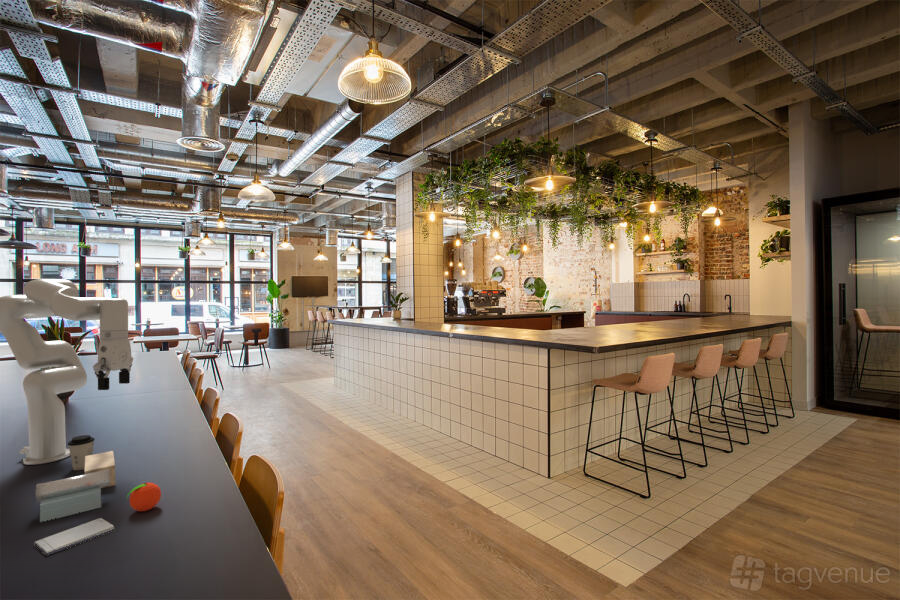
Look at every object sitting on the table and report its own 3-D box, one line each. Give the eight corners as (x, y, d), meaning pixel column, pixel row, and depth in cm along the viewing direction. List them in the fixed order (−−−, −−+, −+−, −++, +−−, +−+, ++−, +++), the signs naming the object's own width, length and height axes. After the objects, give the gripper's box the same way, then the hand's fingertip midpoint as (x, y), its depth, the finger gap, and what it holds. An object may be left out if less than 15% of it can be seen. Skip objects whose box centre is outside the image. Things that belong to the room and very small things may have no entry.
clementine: (132, 520, 110) (131, 492, 110) (119, 513, 113) (119, 486, 113) (166, 507, 117) (165, 481, 116) (153, 501, 120) (153, 475, 120)
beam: (85, 492, 127) (84, 471, 126) (85, 474, 139) (85, 456, 139) (115, 485, 131) (114, 465, 131) (113, 468, 143) (113, 450, 143)
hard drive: (100, 517, 110) (34, 540, 99) (114, 525, 106) (46, 551, 95) (100, 523, 110) (34, 547, 99) (114, 532, 106) (47, 558, 95)
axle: (36, 505, 112) (35, 489, 112) (37, 497, 115) (37, 481, 115) (110, 488, 122) (109, 473, 121) (109, 481, 125) (109, 466, 124)
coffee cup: (100, 464, 147) (99, 435, 147) (77, 472, 141) (76, 441, 141) (86, 462, 150) (85, 433, 149) (62, 470, 143) (62, 439, 143)
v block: (40, 522, 110) (39, 506, 109) (44, 505, 119) (43, 490, 119) (101, 507, 117) (100, 492, 117) (100, 491, 126) (100, 478, 126)
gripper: (107, 338, 137) (107, 392, 137) (142, 333, 154) (142, 381, 155) (82, 338, 137) (82, 392, 137) (120, 332, 154) (120, 381, 154)
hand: (114, 386), depth 146 cm, fingers open, 9 cm apart
